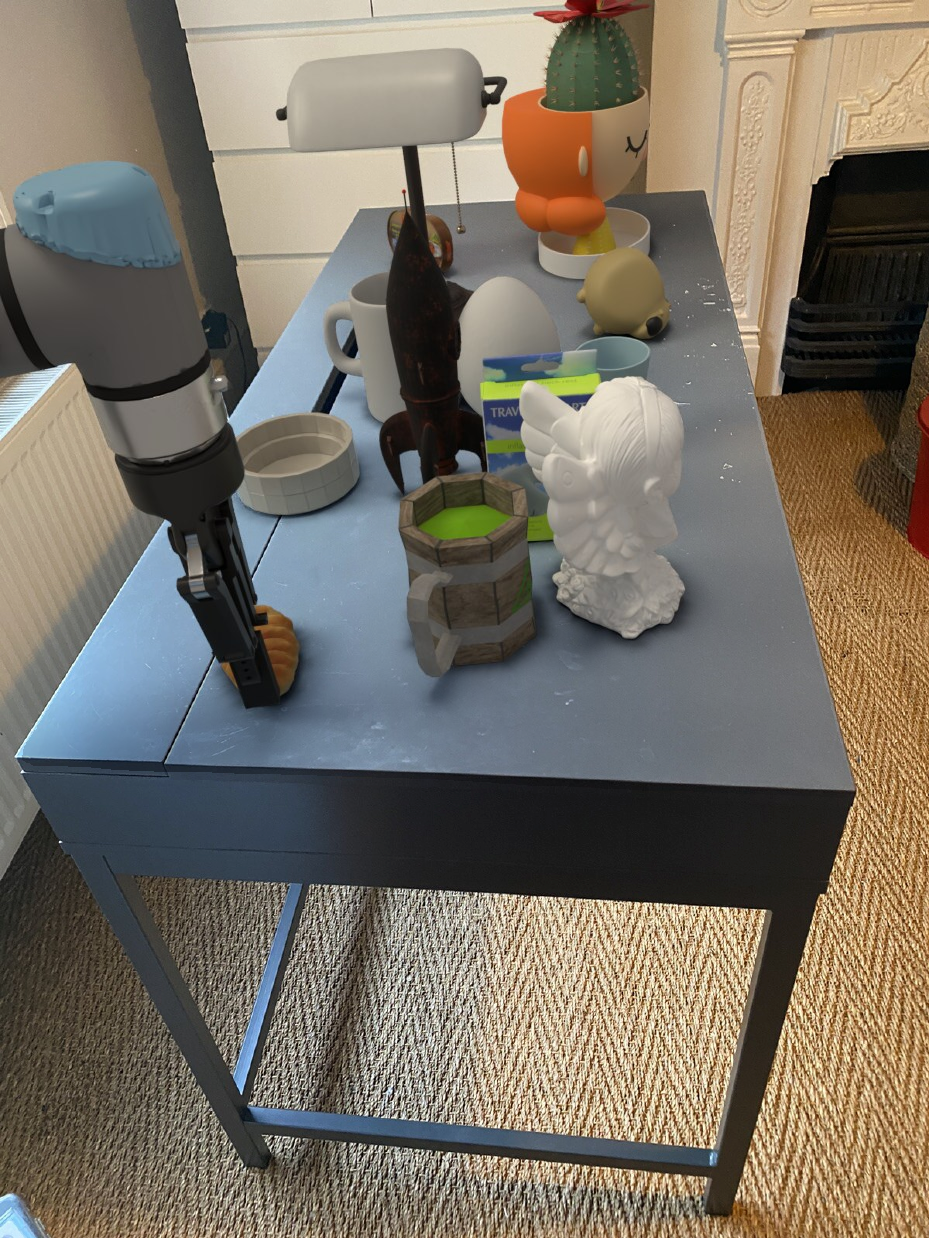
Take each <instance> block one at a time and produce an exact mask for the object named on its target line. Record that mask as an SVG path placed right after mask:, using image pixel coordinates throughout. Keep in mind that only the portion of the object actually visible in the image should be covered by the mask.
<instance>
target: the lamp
mask: <svg viewBox="0 0 929 1238" xmlns="http://www.w3.org/2000/svg"><path fill="white" fill-rule="evenodd" d="M483 72H484V71H483V69H482V65H481V64H480V61H479V60H478V59H477V57H476V56H475V55H474V54H473V53H471V52H470V50H469V51H468V50H466V49H465V48H460V47H459V48H458V47H455V48H454V47H453V48H452V47H451V48H450V47H444V48H429V49H427V48H426V49H413V50H405V51H404V50H403V51H394V52H381V53H370V54H358V55H347V56H337V57H330V58H329V57H328V58H319V59H314V60H309V61H306V62H304V63H303V64H302V65H299V67H298V68H297V70H296V71H295V73H294V74H293V76H292V79H291V81H290V84H288V85H289V86H288V87H287V93H286V105H285V106H284V107H282V108H278V109H276V111H275V116H276V120H277V121H280V122H283V121H286V123H287V125H286V126H287V135H288V142H289V143H288V144H289V148H290V149H291V150H292V151H293V152H296V153H322V152H323V153H325V152H338V151H355V150H367V149H368V150H369V149H383V148H398V147H399V148H400V147H401V150H402V151H401V152H402V155H403V156H402V158H403V164H404V172H405V180H406V188H407V195H408V202H409V208H410V211H411V218H412V219H413V221H414V223H415V224H416V226H417V228H418V229H419V231H420V233H421V234H422V236H423V237H424V239H425V241H426V242H427V244H428V246H429V238H428V230H427V222H426V213H427V212H426V205H425V198H424V190H423V181H422V175H421V166H420V158H419V157H420V156H419V150H418V146H426V145H427V146H429V145H440V144H441V145H442V144H451V154H452V161H453V162H452V163H453V165H452V166H453V173H454V182H455V183H454V185H455V192H456V193H455V194H456V203H457V205H456V206H457V212H458V214H457V215H458V221H459V222H458V225H457V226H456V233H457V234H459V235H462V234H465V233H466V231H467V230H466V229H467V228H466V226H465V225H464V224H462V223H463V222H462V219H461V218H462V216H461V215H462V213H461V204H460V195H459V194H460V192H459V186H458V185H459V183H458V180H459V179H458V177H457V176H458V174H457V172H458V171H457V162H456V155H455V154H456V153H455V145H454V144H455V143H458V142H463V141H466V140H468V139H471V138H473V137H474V136H476V135H477V134H478V133H479V132H480V131H481V129H482V127H483V125H484V122H485V121H486V119H487V116H488V111H487V110H488V109H487V108H488V106H489V105H491V106H496V105H499V104H500V103H501V101H502V97H501V96H502V95H503V93H504V91H505V89H506V87H507V85H508V79H507V78H506V77H505V76H498V75H496V76H485V77H484V73H483ZM488 86H496V87H495V89H494V91H492V92H490V93H489V92H487V90H486V87H488ZM429 247H430V246H429ZM446 282H447V286H448V289H449V290H450V291H449V292H450V295H451V298H452V303H453V311H454V319H455V321H458V320H459V318H460V315H461V313H462V311H463V309H464V307H465V305H466V303H467V302H468V300H469V299H470V297H471V296H472V294H473V293H474V292H475V291H472V290H469V289H467V288H465V287H463V286H462V285H460V284H458V283H457V282H455V281H451V280H446Z"/></svg>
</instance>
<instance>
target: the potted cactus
mask: <svg viewBox="0 0 929 1238" xmlns="http://www.w3.org/2000/svg"><path fill="white" fill-rule="evenodd" d="M636 1H637V0H621V1H617V0H566V1H565V3H564V8H565V9H566V10H539V11H535V12H533V13H532V15H533V16H535V17H539V18H543V20H545V21H548V22H550V23H552V24H554V25H555V24H556V25H557V24H558V25H557V27H558V29H559V30H557V33H558V34H559V35H558V34H557V33H556V30H554V34H553V36H551V38H552V39H554V38H555V39H554V43H553V46H552V45H549V47H548V46H547V47H546V46H545V47H546V48H547V49H548V50H546V51H548V52H550V54H548V53H545V56H544V59H545V61H546V62H547V65H546V66H547V67H546V66H545V65H541V69H540V71H541V72H543V76H546V77H545V78H544V77H542V78H541V80H539V81H540V82H539V83H540V84H542V85H543V87H540V88H536V89H532V90H528V91H524V92H521V93H518V94H515V95H513V96H510V97H509V98H508V99H506V100H505V101H504V103H503V110H502V116H501V117H502V118H501V142H502V147H503V155H504V159H505V162H506V166H507V168H508V170H509V172H510V174H511V175H512V178H513V179H514V182H515V183H516V185H517V187H518V190H517V191H516V193H515V197H514V205H515V210H516V214H517V216H518V218H519V219H520V221H521V222H522V223H523V224H524V225H525V226H527V228H529V229H530V230H532V231H536V232H538V235H537V244H538V261H539V264H540V266H541V268H543V270H545V271H546V272H548V273H550V274H552V275H555V276H557V277H560V278H566V279H572V280H585V277H586V274H587V272H588V270H589V268H590V267H591V266H592V264H593V263H594V262H595V261H596V260H597V259H598V258H599V257H601V256H602V255H604V254H605V253H607V252H609V251H611V250H614V249H617V248H621V247H632V248H636V249H639V250H641V251H642V252H644V253H645V254H646V255H647V256H648V257H649V254H650V249H651V224H650V220H648V218H647V217H646V216H645V215H643V214H641V213H639V212H637V211H634V210H631V209H626V208H621V207H609V206H608V207H606V204H605V203H606V202H608V201H609V200H611V199H613V198H615V197H616V196H618V195H619V194H620V193H621V192H623V190H624V189H625V188H626V187H627V186H628V185H629V184H630V182H632V180H634V178H635V174H636V172H637V171H638V169H639V167H640V165H641V162H643V161H645V159H646V158H647V155H648V150H649V149H648V139H649V133H650V132H649V131H650V126H651V123H650V118H651V117H650V99H649V92H648V89H646V87H645V86H646V84H643V85H641V84H642V81H643V79H642V77H640V78H639V76H643V75H646V73H644V71H645V72H646V70H645V69H644V70H642V69H640V68H641V66H642V65H643V63H641V62H642V59H641V58H639V57H640V56H641V55H640V54H641V53H638V51H639V50H641V48H639V49H638V48H637V49H636V47H637V44H634V45H633V46H632V43H633V42H634V41H637V38H636V39H634V35H632V34H633V32H630V31H631V30H632V29H631V28H629V27H630V25H629V26H628V24H624V26H623V27H622V26H621V25H622V24H623V23H624V22H625V20H626V19H625V20H624V19H623V17H621V16H622V15H625V14H628V13H632V12H636V11H640V10H642V9H644V10H645V9H648V8H650V7H651V6H652V5H651V4H649V3H647V4H646V3H643V4H634V5H633V4H632V3H633V2H636ZM616 18H618V19H617V20H616ZM563 24H564V25H563ZM629 32H630V34H629V35H628V36H627V33H629ZM635 49H636V50H635ZM634 50H635V51H634ZM636 54H638V55H637V56H636ZM638 58H639V59H638ZM638 65H640V66H638ZM639 83H640V84H639Z"/></svg>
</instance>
